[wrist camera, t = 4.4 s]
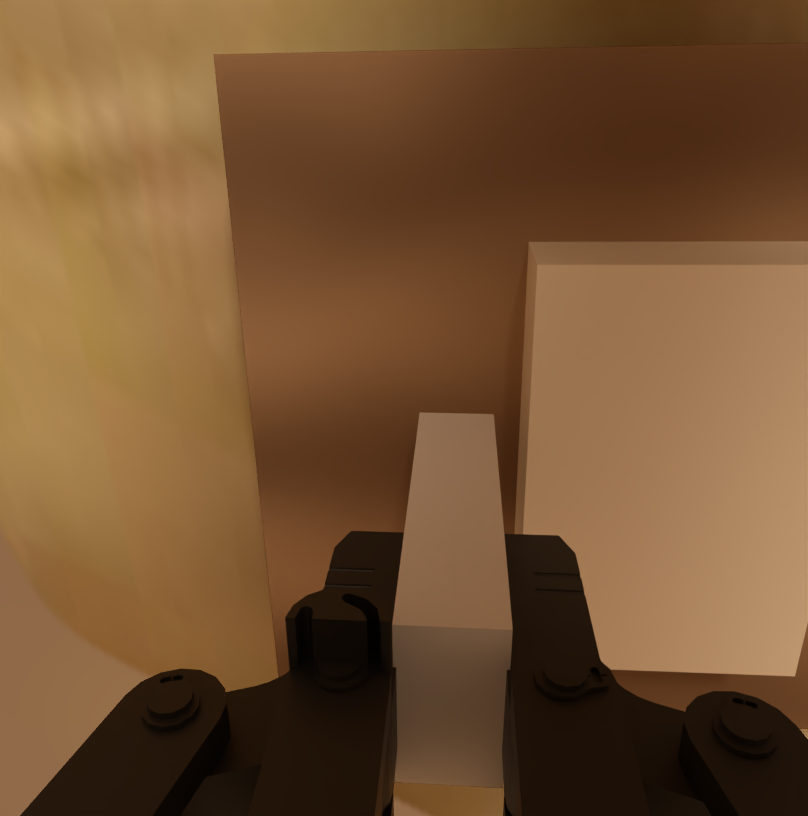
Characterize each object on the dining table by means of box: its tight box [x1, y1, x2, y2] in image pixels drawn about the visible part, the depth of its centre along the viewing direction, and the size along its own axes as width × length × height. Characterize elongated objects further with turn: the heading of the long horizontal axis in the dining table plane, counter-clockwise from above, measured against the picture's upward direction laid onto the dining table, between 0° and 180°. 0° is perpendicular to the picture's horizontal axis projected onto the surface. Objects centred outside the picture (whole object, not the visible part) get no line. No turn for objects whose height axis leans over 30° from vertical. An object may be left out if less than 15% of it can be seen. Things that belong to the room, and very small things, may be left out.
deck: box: [214, 43, 808, 729], centre depth 19 cm, size 16×20×4 cm
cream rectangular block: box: [514, 241, 808, 676], centre depth 16 cm, size 9×6×2 cm, turn 1°
